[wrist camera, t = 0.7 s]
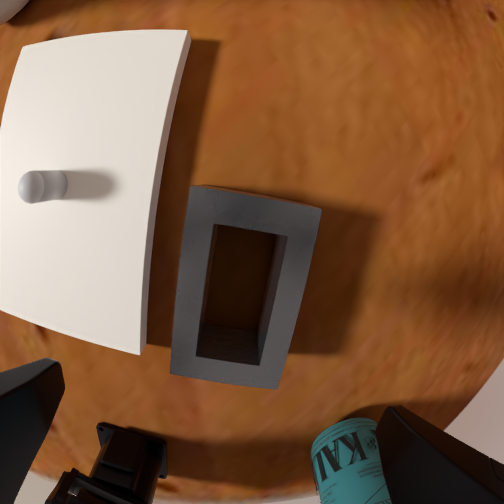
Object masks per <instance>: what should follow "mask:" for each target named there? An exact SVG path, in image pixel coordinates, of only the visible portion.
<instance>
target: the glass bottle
mask: <svg viewBox="0 0 504 504" xmlns="http://www.w3.org/2000/svg"><path fill="white" fill-rule="evenodd" d="M28 1H29V0H0V25H1V24H3V23H5V22H6V21H8V20H9V19H11V18H12V17H13V16H14V15H15V14H16V13H18V12H19V11H20V10H21V9H22V8H23V7H24V6H25V5H26V4H27V3H28Z"/></svg>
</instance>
